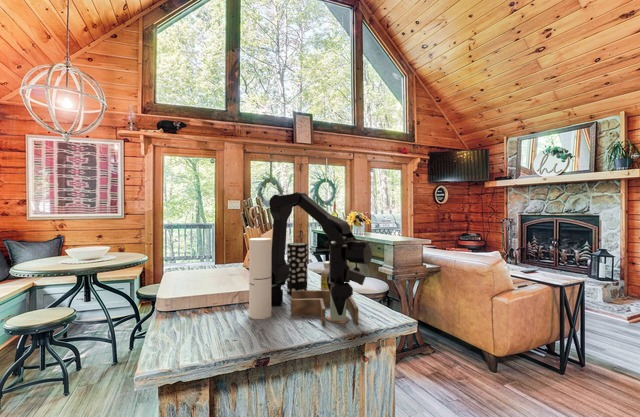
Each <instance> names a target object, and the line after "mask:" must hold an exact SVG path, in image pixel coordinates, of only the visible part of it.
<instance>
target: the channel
mask: <svg viewBox="0 0 640 417" xmlns="http://www.w3.org/2000/svg"><path fill="white" fill-rule="evenodd" d="M325 305H326V306H330V291H329V290H321V289H318V290H316V289H315V290H311V289H310V290H308V289H307V291H292V295H291V299H290V316H309V315H310V316H314V315H315V316H317V315H319V317H320V322H321V326H326V319H327V321H328V322H329V323H333V324H346V323H348V322H349V321H350V317H351V319H352V321H353V324H354V325H355V326H358V325H359V307H358V305H357V304H356V301H355V300H354V298H353V295H352V296H351V297H349V298H347V299H346V310H347V311H348V313H349V315H350V317H349V316H348V315H346V321H332V320H331V317H330V315H328V316H327V317H326V306H325Z"/></svg>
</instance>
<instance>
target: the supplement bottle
mask: <svg viewBox="0 0 640 417" xmlns="http://www.w3.org/2000/svg"><path fill="white" fill-rule="evenodd" d="M328 273H329V260H326V261H323V267H322V268H321V271H320V290H329V288H328V285H327V281H326V275H327V274H328Z"/></svg>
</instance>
